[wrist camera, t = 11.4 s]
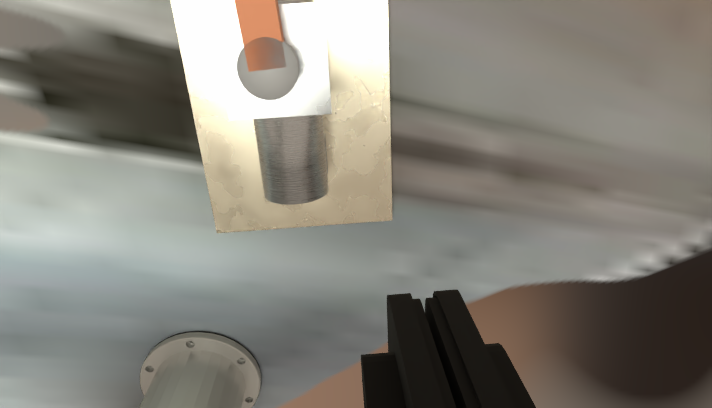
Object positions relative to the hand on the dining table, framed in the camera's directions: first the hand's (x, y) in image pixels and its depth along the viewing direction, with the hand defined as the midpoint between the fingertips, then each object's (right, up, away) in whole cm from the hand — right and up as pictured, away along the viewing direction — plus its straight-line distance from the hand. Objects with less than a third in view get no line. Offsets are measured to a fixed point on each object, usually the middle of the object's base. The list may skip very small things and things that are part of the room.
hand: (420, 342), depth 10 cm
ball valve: (-7, +16, +25) cm, 30 cm away
